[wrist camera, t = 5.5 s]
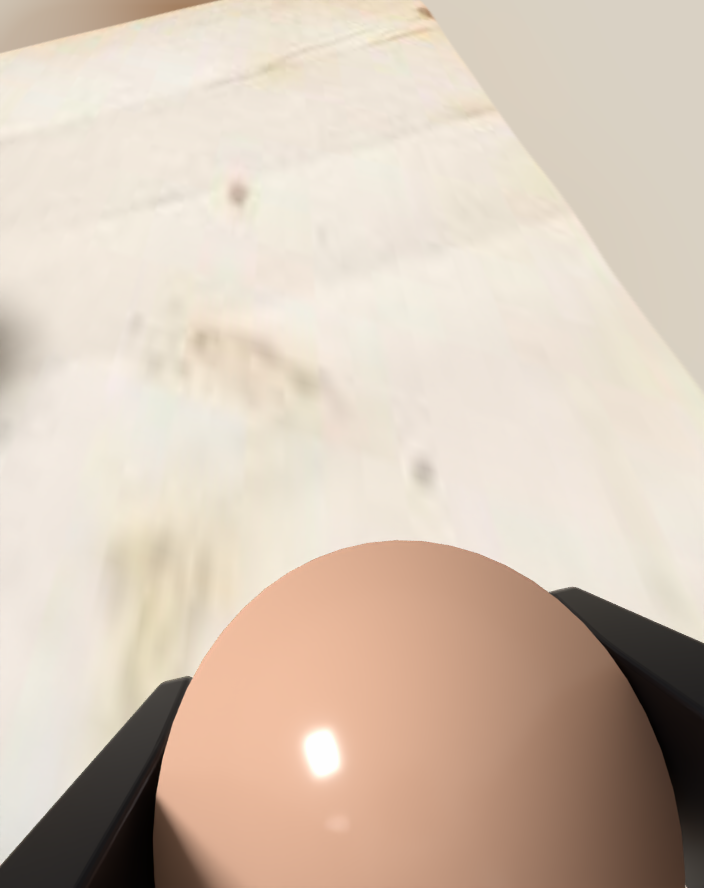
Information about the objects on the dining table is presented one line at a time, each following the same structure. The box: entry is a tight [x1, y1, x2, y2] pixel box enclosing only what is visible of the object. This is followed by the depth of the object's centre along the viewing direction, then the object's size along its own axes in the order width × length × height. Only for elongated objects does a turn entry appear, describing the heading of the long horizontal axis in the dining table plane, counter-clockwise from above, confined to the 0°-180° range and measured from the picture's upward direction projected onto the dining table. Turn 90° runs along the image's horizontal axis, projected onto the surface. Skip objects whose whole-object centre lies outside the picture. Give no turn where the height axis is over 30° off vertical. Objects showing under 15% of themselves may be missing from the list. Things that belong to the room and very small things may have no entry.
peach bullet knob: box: [153, 540, 685, 888], centre depth 9 cm, size 5×5×9 cm
